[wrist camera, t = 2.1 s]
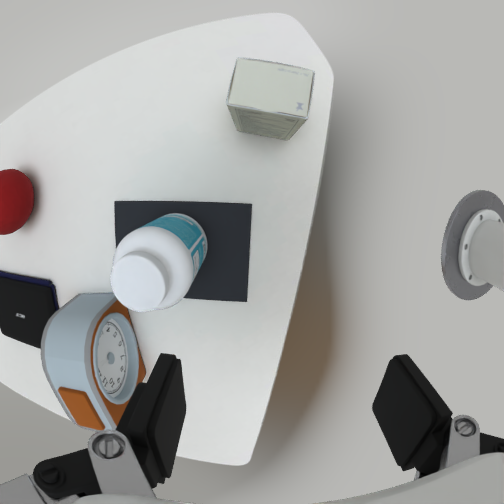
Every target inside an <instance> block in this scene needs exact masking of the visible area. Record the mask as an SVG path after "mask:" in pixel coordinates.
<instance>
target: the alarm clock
mask: <svg viewBox="0 0 504 504" xmlns="http://www.w3.org/2000/svg"><path fill="white" fill-rule="evenodd" d="M41 360H42V366H43V370H44V372H45V375H46V378H47V380H48V382H49V384H50V386H51V388H52V390H53V392H54V393H55V395H56V397H57V399H58V401H59V402H60V404H61V406H62V407H63V409H64V411H65V412H66V414H67V416H68V417H69V418H70V420H71V421H72V422H74V423H75V424H76V425H78V426H79V427H81V428H84V429H88V430H92V431H96V432H98V431H101V430H108V429H110V430H116V427H117V425H118V423H119V421H120V419H121V417H122V415H123V413H124V411H125V408H126V406H127V404H128V402H129V400H130V398H131V396H132V394H133V392H134V390H135V388H136V386H137V384H138V383H139V382H142V381H143V379H144V377H145V375H146V370H145V367H144V364H143V361H142V358H141V354H140V351H139V348H138V345H137V342H136V338H135V334H134V331H133V328H132V324H131V320H130V317H129V313H128V309H127V307H125V306H124V305H123V304H122V303H121V302H120V301H119V300H118V299H117V298H116V296H115V294H114V293H92V294H78V295H77V296H75V297H74V298H73V299H72V300H70V301H69V302H68V303H66V304H65V305H64V306H63V307H61V308H60V309H59V310H57V311H56V312H55V313H54V314H53V315H52V316H51V317H50V319H49V320H48V322H47V324H46V326H45V328H44V331H43V335H42V340H41Z"/></svg>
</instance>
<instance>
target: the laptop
mask: <svg viewBox="0 0 504 504" xmlns="http://www.w3.org/2000/svg"><path fill="white" fill-rule="evenodd" d="M57 310H59V308H58V303H57V296H56V291H55V286H54V285H52V284H51V281H48V280H42V279H37V278H31V277H26V276H21V275H16V274H11V273H6V272H1V271H0V329H1V332H2V333H3V334H4V335H6V336H8V337H11V338H13V339H15V340H18V341H21V342H23V343H26V344H29V345H31V346H34V347H37V348H40V349H41V340H42V335H43V331H44V328H45V326H46V324H47V322H48V320H49V319H50V317H51V316H52V315H53V314H54V313H55V312H56V311H57Z"/></svg>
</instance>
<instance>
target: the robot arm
mask: <svg viewBox="0 0 504 504" xmlns="http://www.w3.org/2000/svg"><path fill="white" fill-rule="evenodd" d="M458 261H459V268H460V272H461V274H462V276H463V278H464V279H465V280H466V281H467V282H468V283H470V284H471V285H474V286H481V285H484V284H485V283H487V282H488V283H490V284H491V285H493V286H495V287H497V288H499V289H501V290H502V291H504V223H503V221H502V219H501V217H500V216H499V215H498V214H497V213H496V212H495V211H493V210H489V209H482V210H479V211H477V212H476V213H475V214H474V215H473V216H472V217H471V218H470V219H469V221H468V223H467V224H466V226H465V228H464V231H463V233H462V236H461V240H460V245H459V253H458ZM372 409H373V412H374V415H375V416H376V419H377V421H378V423H379V425H380V427H381V430H382V432H383V434H384V436H385V438H386V440H387V443H388V445H389V447H390V449H391V452H392V454H393V456H394V458H395V460H396V463H397V465H398V466H401V468H402V470H403V471H406V470H409V469H412V468H414V467H415V468H416V470H417V471H416V475H415V478H414V481H411V482H408V483H405V484H402V485H399V486H396V487H392V488H389V489H385V490H381V491H378V492H374V493H370V494H366V495H362V496H357V497H352V498H347V499H342V500H336V501H329V502H322V503H315V504H504V439H502V438H498V437H494V436H491V435H487V434H484V433H480V430H479V425H478V423H477V422H476V420H475V419H474V418H472V417H470V416H467V415H459V416H456V417H455V418H454V419H452V418H451V415H452V414H453V413H452V412H451V411H450V409H449V408H448V406H447V405H446V404H445V402H444V401H443V400H442V398H441V397H440V396H439V394H438V393H437V391H436V390H435V389H434V388H433V386H432V385H431V384H430V382H429V381H428V380H427V378H426V377H425V376H424V375H423V373H422V372H421V371H420V369H419V368H418V367H417V366H416V364H415V363H414V362H413V361H412V359H411V358H410V357H409V356H408V355H407V354H404V355H396V356H394V357H393V359H391V360H390V361H389V364H388V366H387V369H386V372H385V375H384V378H383V380H382V383H381V385H380V388H379V390H378V393H377V395H376V397H375V400H374V402H373V407H372ZM185 414H186V401H185V393H184V385H183V376H182V367H181V360H180V359H176V355H172V354H164V353H161V354H160V356H159V358H158V360H157V362H156V364H155V366H154V368H153V370H152V373H151V375H150V377H149V379H148V381H147V383H142V382H139V383H138V384H137V386H136V388H135V390H134V392H133V394H132V396H131V398H130V400H129V402H128V404H127V406H126V408H125V411H124V413H123V415H122V417H121V419H120V421H119V423H118V425H117V427H116V430H110V429H108V430H101V431H98V432H96V433H95V434H93V435H92V436H91V438H90V439H89V441H88V448H86V449H83V450H80V451H77V452H73V453H70V454H66V455H63V456H59V457H55V458H51V459H47V460H44V461H42V462H40V463H38V464H37V465H36V467H35V468H34V472H33V474H32V475H30V476H28V475H27V474H24V475H22V476H20V477H18V478H15V479H13V480H11V481H8V482H6V483H3V484H1V485H0V504H194V503H186V502H179V501H173V500H165V499H159V498H157V497H156V496H155V494H154V492H153V490H152V488H155V487H156V486H157V483H162V484H164V481H165V478H170V476H171V473H172V469H173V465H174V460H175V456H176V452H177V447H178V443H179V439H180V435H181V431H182V427H183V423H184V419H185Z"/></svg>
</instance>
